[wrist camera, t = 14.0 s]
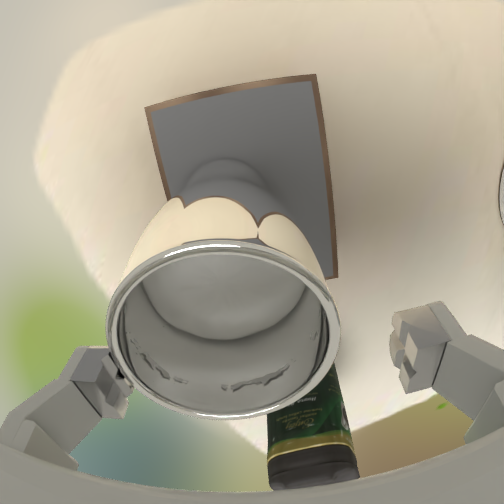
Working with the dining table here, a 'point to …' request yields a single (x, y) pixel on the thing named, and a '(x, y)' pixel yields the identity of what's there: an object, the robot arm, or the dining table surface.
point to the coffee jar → (311, 440)
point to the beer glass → (223, 302)
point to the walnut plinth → (256, 147)
